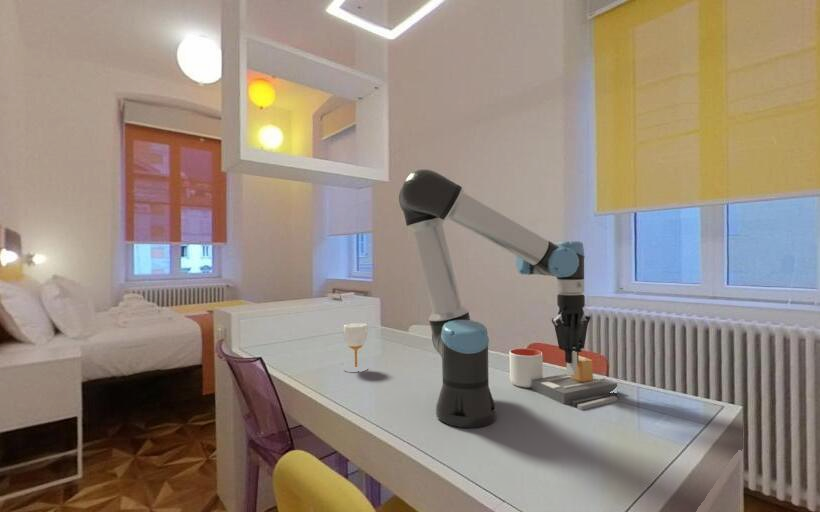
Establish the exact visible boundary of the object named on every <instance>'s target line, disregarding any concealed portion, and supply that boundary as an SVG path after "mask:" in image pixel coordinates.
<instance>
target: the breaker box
mask: <svg viewBox="0 0 820 512" xmlns="http://www.w3.org/2000/svg"><path fill="white" fill-rule="evenodd" d="M567 374H568V373H564V374H563V373H562V374H557V375H552V376H546V377H543V378H539V379H533V380H532V388H531V390H533V391H535V392H537V393H538V394H540V395H543V396H545V397H546V398H547V397H548V398H549V399H552V400H553V401H556V402H558V403H560V404H562V405H567V404H571V401H573V400H578V399H583V398H588V397H593V396H598V395H603V394H608V393H610V392H611V391H613V390H614V389H615V388H616V387H617V388H618V383H617V382H615V381H612V380H609V379H606V377H603V376H600V375H597V376H598V377H597V376H596V377H593V378H594V379H593V380H592V381H587V382H580V381H578V380H575V379H572V378H571V375H567ZM593 375H595V374H593ZM605 379H606V380H605Z"/></svg>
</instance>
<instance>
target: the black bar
mask: <svg viewBox="0 0 820 512" xmlns="http://www.w3.org/2000/svg"><path fill="white" fill-rule="evenodd" d="M611 396H615V397H617V399H619V393H618V392H617V393H614V392H613V393H608V394H603V395H598V396H593V397H588V398H583V399H578V400H573V401H571V403H570V406H571V407H573V408H577V405H578V404H582V403H586V402H590V401H594V400H598V399H602V398H606V397H611Z"/></svg>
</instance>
